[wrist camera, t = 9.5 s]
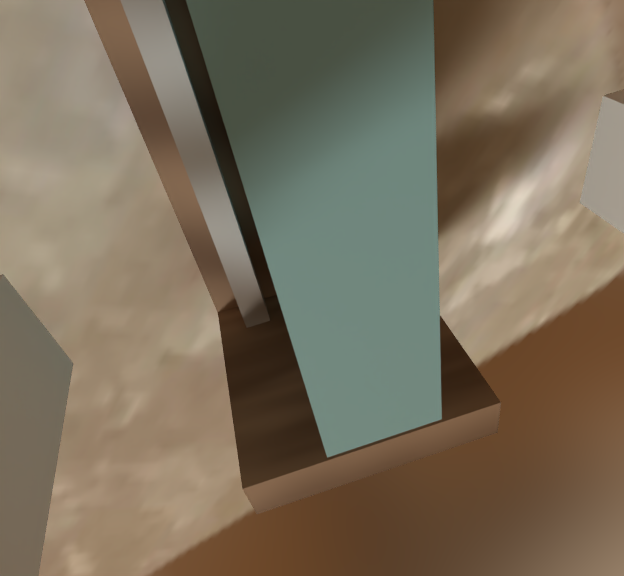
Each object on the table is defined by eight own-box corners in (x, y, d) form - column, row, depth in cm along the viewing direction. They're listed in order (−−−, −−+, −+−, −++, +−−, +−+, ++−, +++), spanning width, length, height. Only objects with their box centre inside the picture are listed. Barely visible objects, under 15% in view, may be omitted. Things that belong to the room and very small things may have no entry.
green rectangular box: (166, -66, 15) (173, -41, 6) (271, -92, 16) (430, -105, 6) (260, 240, 23) (327, 457, 14) (330, 219, 23) (441, 419, 14)
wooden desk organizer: (-50, -329, 12) (-547, -910, 4) (330, -405, 13) (659, -1040, 4) (229, 333, 27) (260, 520, 19) (395, 281, 28) (496, 439, 20)
